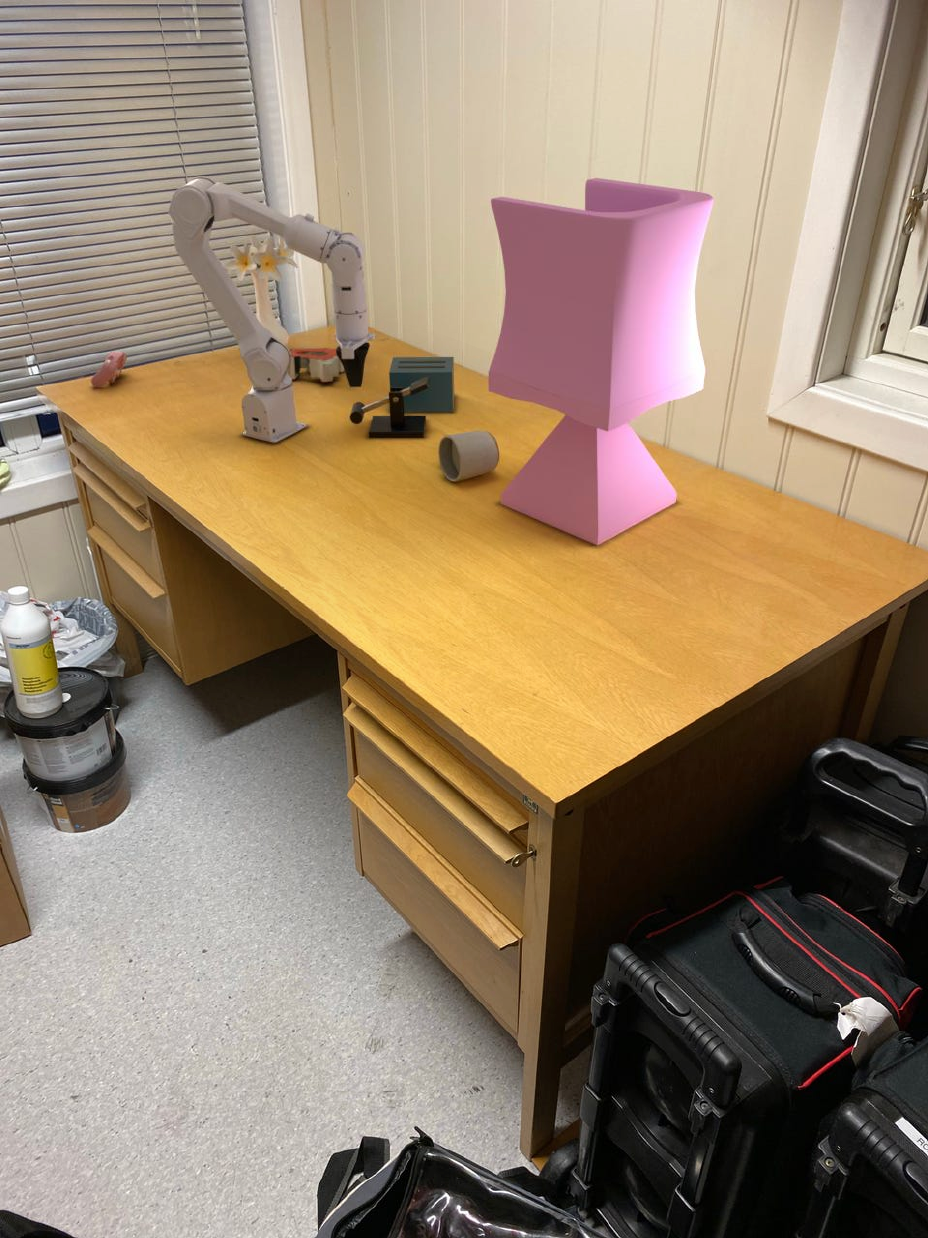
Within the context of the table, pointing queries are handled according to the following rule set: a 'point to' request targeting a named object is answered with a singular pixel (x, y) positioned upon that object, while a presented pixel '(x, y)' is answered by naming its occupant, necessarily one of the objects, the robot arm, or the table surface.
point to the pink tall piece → (598, 344)
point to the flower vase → (262, 276)
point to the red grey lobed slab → (315, 363)
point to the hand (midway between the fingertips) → (355, 385)
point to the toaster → (440, 384)
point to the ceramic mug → (468, 454)
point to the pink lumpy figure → (110, 369)
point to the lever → (386, 400)
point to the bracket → (397, 420)
